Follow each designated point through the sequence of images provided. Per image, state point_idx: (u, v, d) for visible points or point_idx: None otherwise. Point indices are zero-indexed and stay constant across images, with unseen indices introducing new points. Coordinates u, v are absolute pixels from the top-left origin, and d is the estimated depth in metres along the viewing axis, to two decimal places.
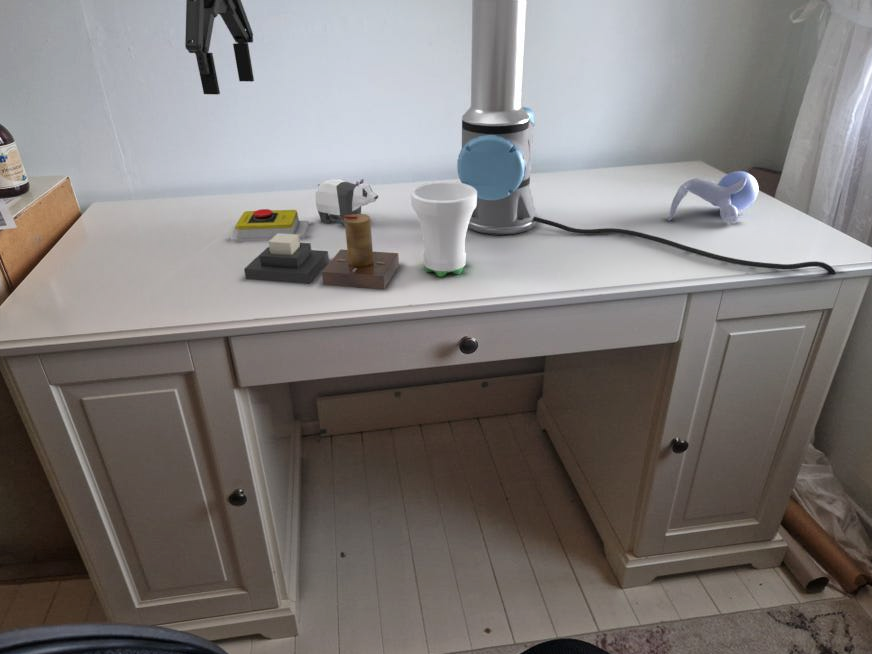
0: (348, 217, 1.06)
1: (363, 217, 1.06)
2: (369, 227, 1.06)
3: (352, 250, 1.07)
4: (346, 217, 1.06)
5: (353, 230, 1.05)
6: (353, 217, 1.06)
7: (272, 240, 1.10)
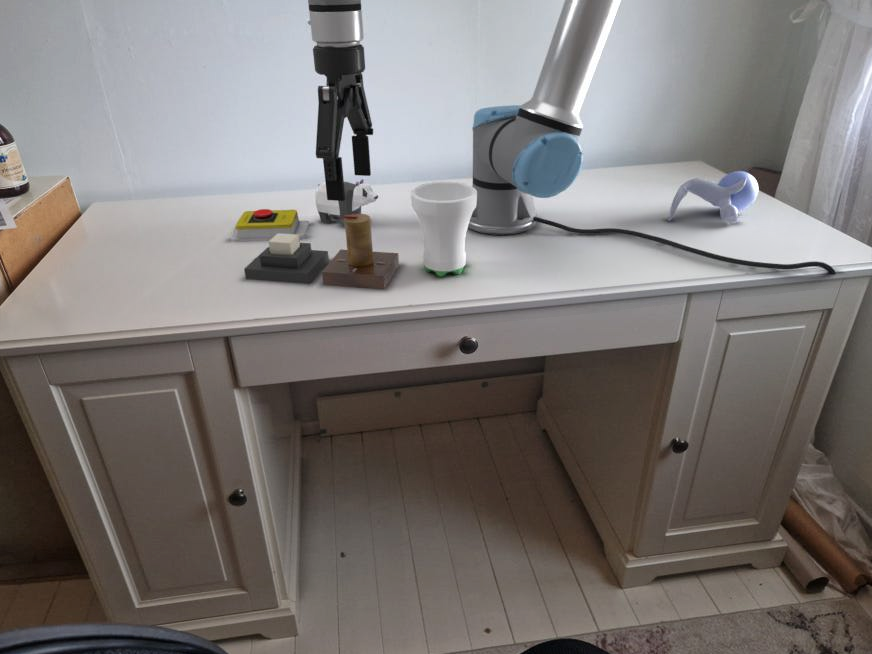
0: (348, 217, 1.06)
1: (363, 217, 1.06)
2: (369, 227, 1.06)
3: (352, 250, 1.07)
4: (346, 217, 1.06)
5: (353, 230, 1.05)
6: (353, 217, 1.06)
7: (272, 240, 1.10)
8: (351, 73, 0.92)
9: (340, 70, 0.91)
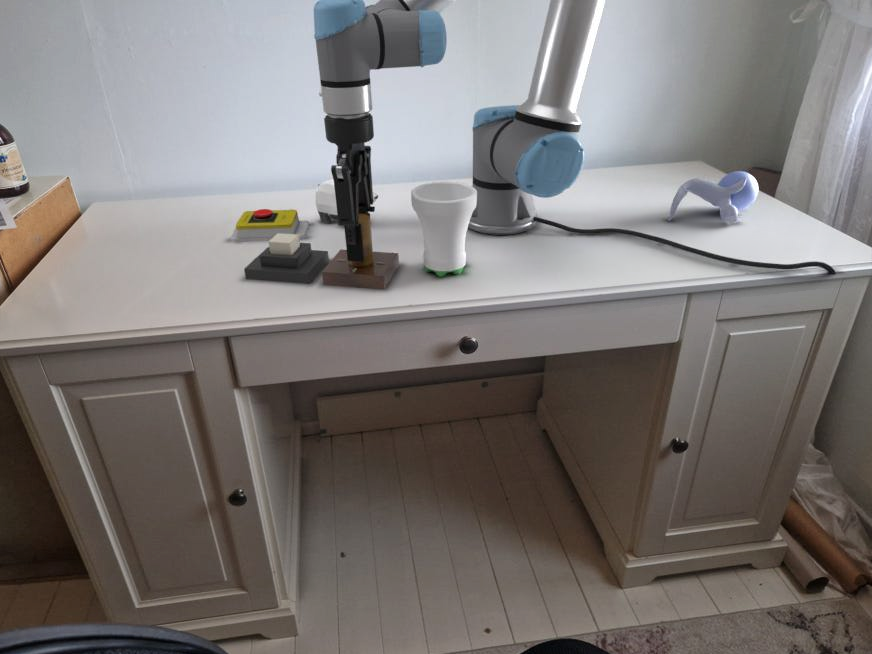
0: None
1: (363, 217, 1.06)
2: (369, 227, 1.06)
3: None
4: None
5: None
6: None
7: (272, 240, 1.10)
8: (361, 142, 0.96)
9: (350, 140, 0.95)
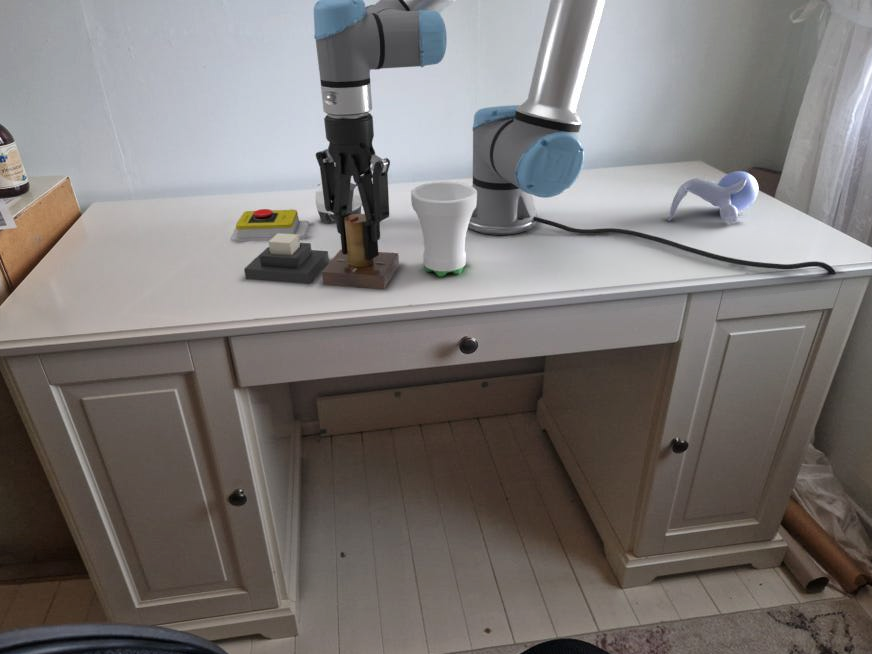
0: (353, 220, 1.05)
1: (360, 216, 1.07)
2: None
3: None
4: (352, 220, 1.04)
5: None
6: (356, 218, 1.05)
7: (272, 240, 1.10)
8: None
9: (372, 135, 0.98)
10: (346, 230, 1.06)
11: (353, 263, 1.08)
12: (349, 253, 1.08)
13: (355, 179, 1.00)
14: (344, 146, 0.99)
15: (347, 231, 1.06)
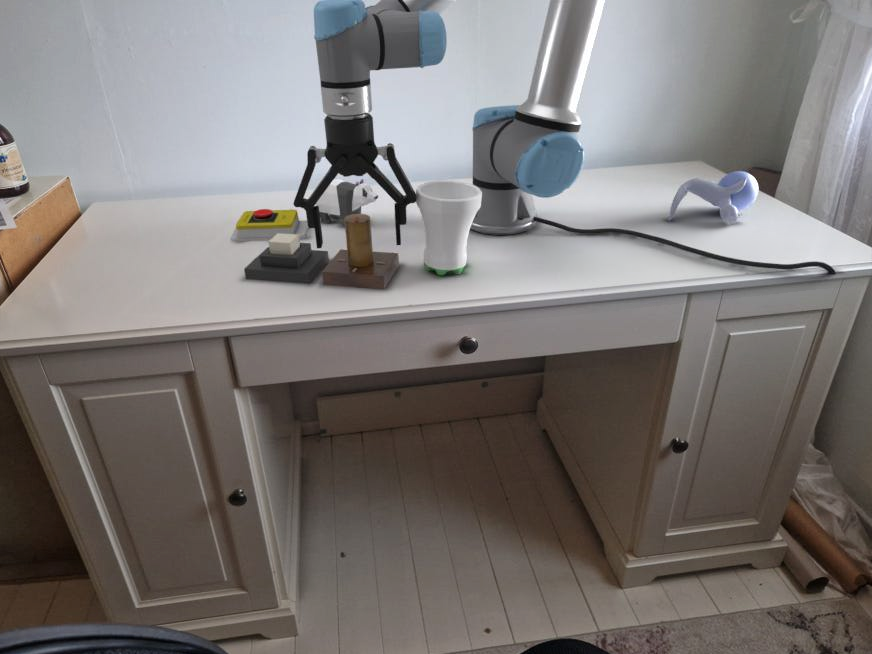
0: (358, 220, 1.05)
1: (356, 216, 1.07)
2: None
3: (371, 247, 1.08)
4: (358, 221, 1.04)
5: (370, 225, 1.07)
6: (358, 218, 1.05)
7: (272, 240, 1.10)
8: None
9: None
10: (351, 232, 1.05)
11: (360, 264, 1.08)
12: (355, 255, 1.07)
13: (372, 174, 1.00)
14: (347, 147, 0.99)
15: (353, 232, 1.05)
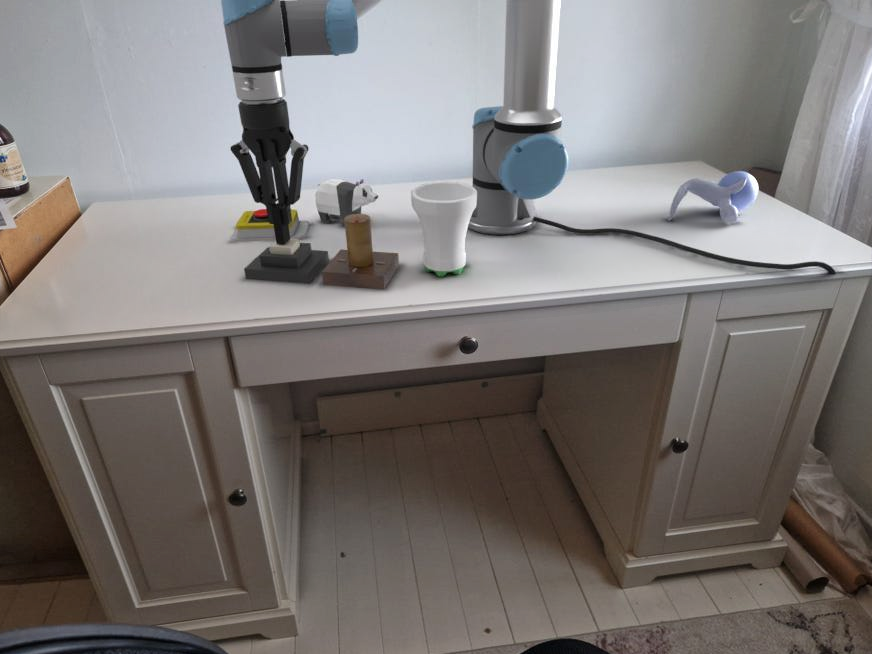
0: (358, 220, 1.05)
1: (356, 216, 1.07)
2: None
3: (371, 247, 1.08)
4: (358, 221, 1.04)
5: (370, 225, 1.07)
6: (358, 218, 1.05)
7: (273, 245, 1.10)
8: None
9: (288, 119, 1.01)
10: (351, 232, 1.05)
11: (360, 264, 1.08)
12: (355, 255, 1.07)
13: (273, 164, 1.02)
14: (261, 132, 1.00)
15: (353, 232, 1.05)
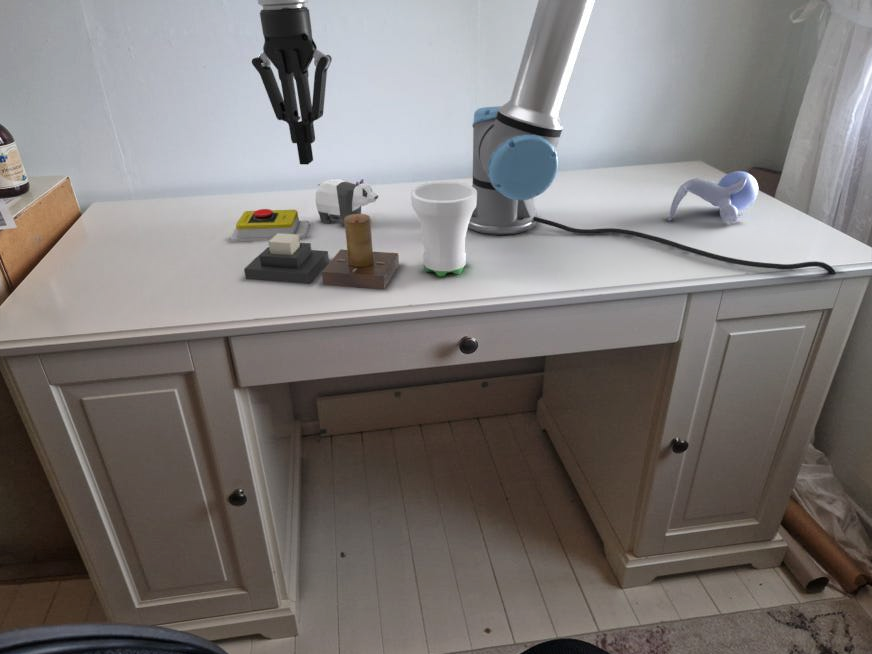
0: (358, 220, 1.05)
1: (356, 216, 1.07)
2: None
3: (371, 247, 1.08)
4: (358, 221, 1.04)
5: (370, 225, 1.07)
6: (358, 218, 1.05)
7: (272, 240, 1.10)
8: None
9: None
10: (351, 232, 1.05)
11: (360, 264, 1.08)
12: (355, 255, 1.07)
13: (296, 75, 1.00)
14: (283, 42, 0.98)
15: (353, 232, 1.05)
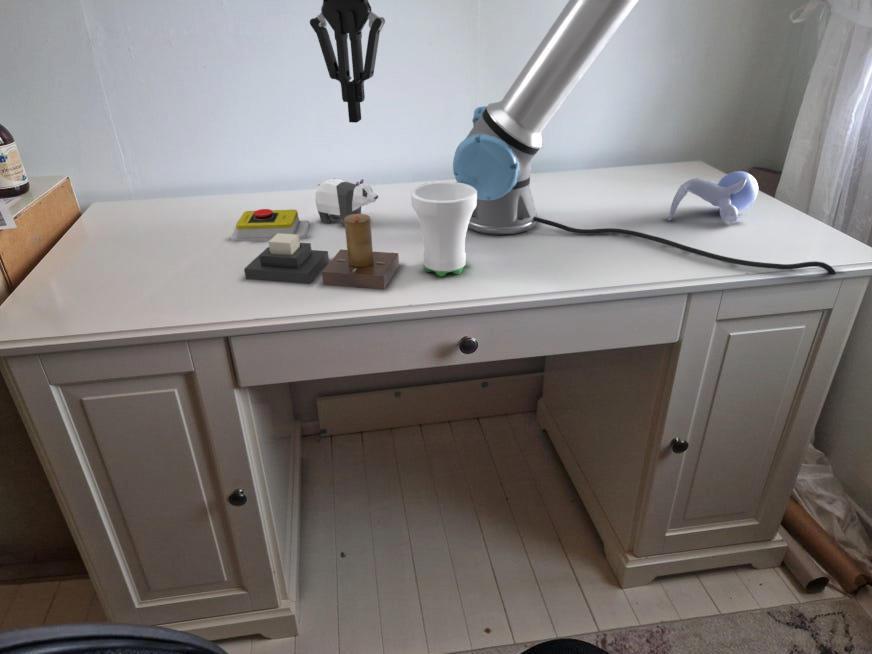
0: (358, 220, 1.05)
1: (356, 216, 1.07)
2: None
3: (371, 247, 1.08)
4: (358, 221, 1.04)
5: (370, 225, 1.07)
6: (358, 218, 1.05)
7: (272, 240, 1.10)
8: None
9: None
10: (351, 232, 1.05)
11: (360, 264, 1.08)
12: (355, 255, 1.07)
13: (351, 36, 1.06)
14: (341, 3, 1.04)
15: (353, 232, 1.05)
